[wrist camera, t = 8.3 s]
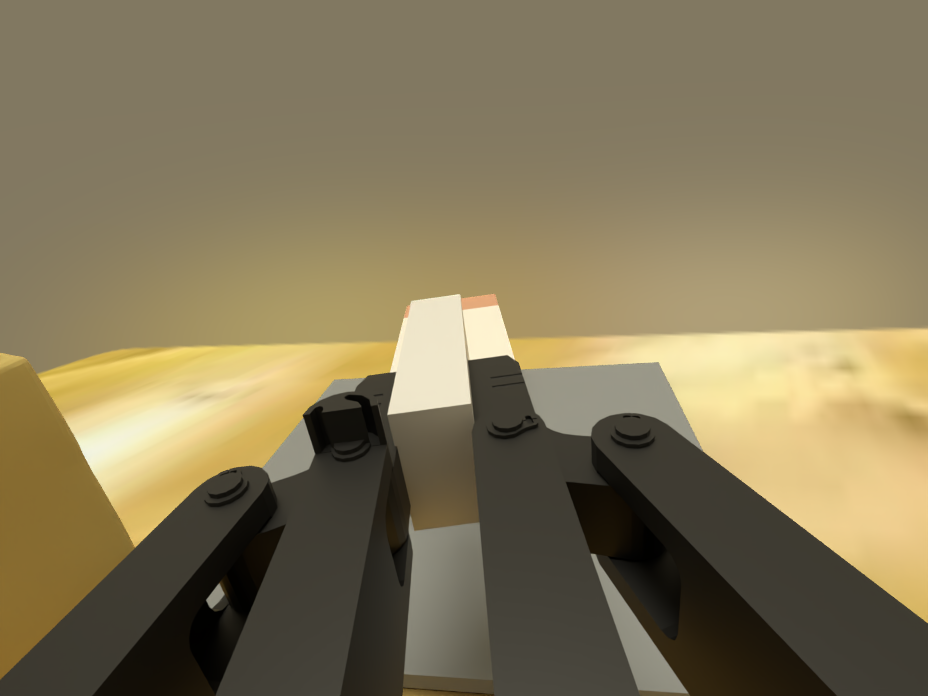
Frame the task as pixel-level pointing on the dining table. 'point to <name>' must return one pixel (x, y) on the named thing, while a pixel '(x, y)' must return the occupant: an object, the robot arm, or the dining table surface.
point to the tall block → (475, 329)
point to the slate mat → (459, 547)
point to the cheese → (46, 516)
